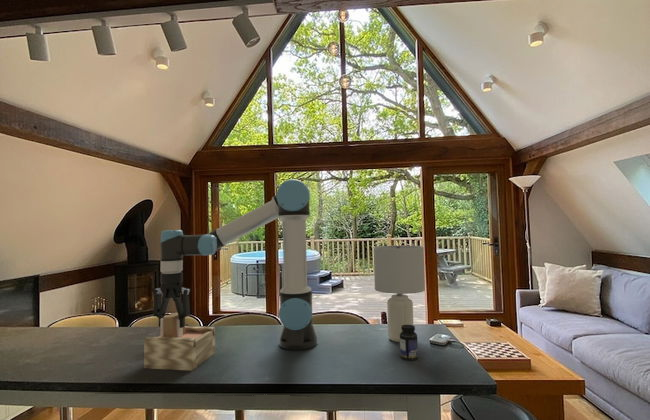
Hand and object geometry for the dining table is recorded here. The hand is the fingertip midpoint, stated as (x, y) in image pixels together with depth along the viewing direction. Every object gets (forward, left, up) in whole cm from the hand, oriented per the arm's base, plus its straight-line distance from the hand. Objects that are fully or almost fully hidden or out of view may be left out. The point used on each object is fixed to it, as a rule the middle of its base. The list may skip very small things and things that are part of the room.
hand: (171, 336), depth 130 cm
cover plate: (-3, 0, -2) cm, 3 cm away
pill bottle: (-85, -12, -9) cm, 86 cm away
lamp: (-83, -32, -9) cm, 89 cm away
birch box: (-4, 0, -9) cm, 9 cm away
